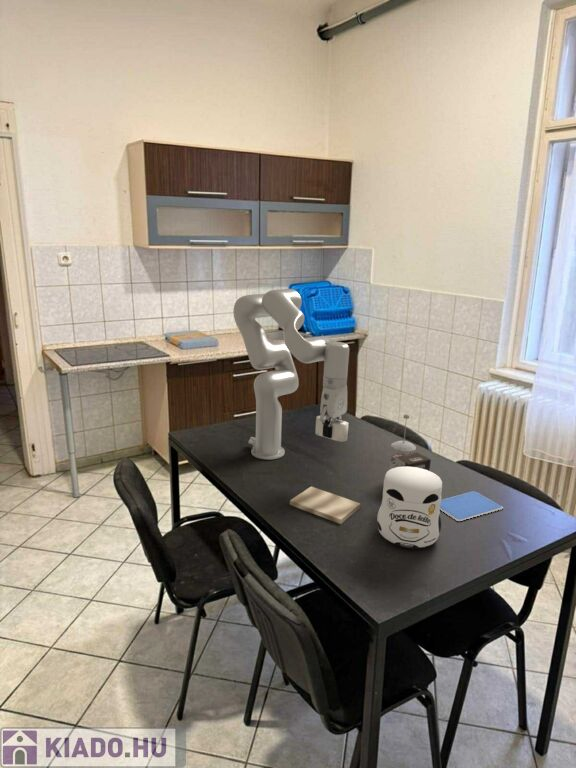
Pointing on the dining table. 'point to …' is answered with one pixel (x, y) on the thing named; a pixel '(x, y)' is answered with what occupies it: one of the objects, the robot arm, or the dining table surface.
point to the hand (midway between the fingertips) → (331, 434)
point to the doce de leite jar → (410, 507)
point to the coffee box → (413, 461)
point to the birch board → (325, 504)
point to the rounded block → (334, 429)
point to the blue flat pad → (468, 506)
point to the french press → (401, 447)
